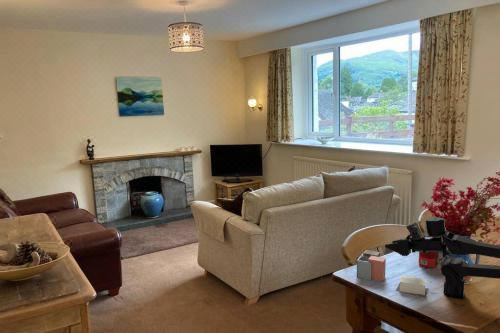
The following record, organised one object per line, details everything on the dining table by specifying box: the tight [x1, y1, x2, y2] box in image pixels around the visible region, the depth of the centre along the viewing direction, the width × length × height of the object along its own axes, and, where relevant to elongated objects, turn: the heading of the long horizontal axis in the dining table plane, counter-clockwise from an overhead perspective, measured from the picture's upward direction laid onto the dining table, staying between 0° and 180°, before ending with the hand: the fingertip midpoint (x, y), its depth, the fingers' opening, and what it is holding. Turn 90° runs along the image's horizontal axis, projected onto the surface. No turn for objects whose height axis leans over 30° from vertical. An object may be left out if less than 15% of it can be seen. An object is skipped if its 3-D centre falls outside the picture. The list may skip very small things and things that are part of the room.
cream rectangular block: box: [399, 275, 426, 295], centre depth 158 cm, size 9×6×4 cm, turn 68°
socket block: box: [356, 250, 372, 281], centre depth 174 cm, size 6×11×8 cm, turn 148°
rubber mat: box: [395, 282, 430, 299], centre depth 159 cm, size 11×8×1 cm
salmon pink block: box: [368, 256, 387, 282], centre depth 169 cm, size 6×4×9 cm, turn 58°
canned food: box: [418, 252, 439, 270], centre depth 180 cm, size 8×8×11 cm
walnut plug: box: [362, 249, 381, 257], centre depth 175 cm, size 6×4×9 cm, turn 58°
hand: (388, 244), depth 166 cm, fingers open, 9 cm apart
